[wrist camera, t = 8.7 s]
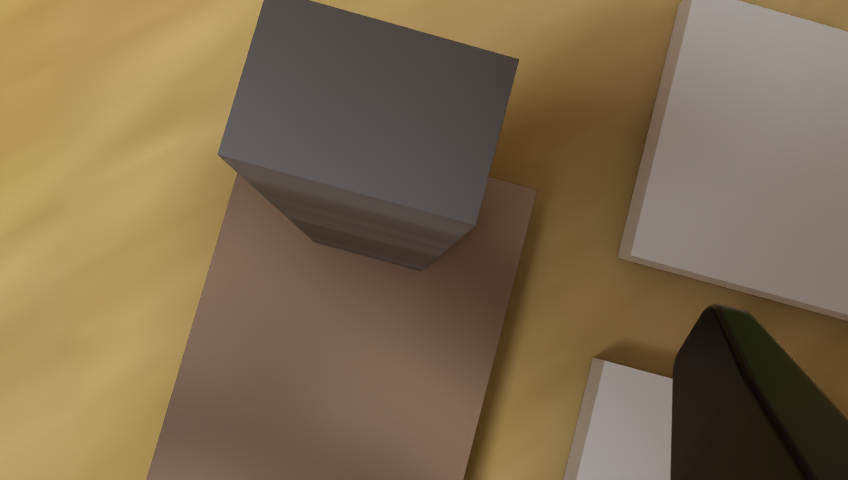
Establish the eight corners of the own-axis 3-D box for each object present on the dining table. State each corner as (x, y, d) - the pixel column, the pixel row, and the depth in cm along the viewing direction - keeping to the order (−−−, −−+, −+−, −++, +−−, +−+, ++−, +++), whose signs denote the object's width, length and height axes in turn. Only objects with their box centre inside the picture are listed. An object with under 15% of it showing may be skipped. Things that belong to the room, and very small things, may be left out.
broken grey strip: (796, 706, 21) (820, 730, 20) (524, 636, 21) (533, 656, 20) (927, 75, 23) (957, 62, 22) (679, 4, 23) (695, -12, 22)
